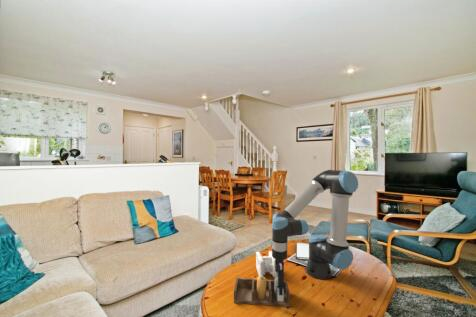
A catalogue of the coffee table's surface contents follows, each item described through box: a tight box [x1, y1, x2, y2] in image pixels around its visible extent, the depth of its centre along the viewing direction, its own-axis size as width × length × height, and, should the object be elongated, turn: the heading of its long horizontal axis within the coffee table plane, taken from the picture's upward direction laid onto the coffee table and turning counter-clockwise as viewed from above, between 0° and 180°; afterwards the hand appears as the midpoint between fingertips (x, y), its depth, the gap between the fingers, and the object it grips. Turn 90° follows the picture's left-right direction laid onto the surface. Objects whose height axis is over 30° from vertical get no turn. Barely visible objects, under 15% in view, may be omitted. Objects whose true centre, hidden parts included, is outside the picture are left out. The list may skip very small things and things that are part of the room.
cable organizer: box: [255, 250, 276, 278], centre depth 135 cm, size 15×11×12 cm
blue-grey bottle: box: [273, 277, 278, 300], centre depth 110 cm, size 5×5×10 cm
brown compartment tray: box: [233, 277, 291, 308], centre depth 112 cm, size 27×12×6 cm, turn 85°
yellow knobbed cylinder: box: [256, 275, 267, 299], centre depth 110 cm, size 5×5×10 cm
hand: (279, 292), depth 109 cm, fingers open, 12 cm apart
